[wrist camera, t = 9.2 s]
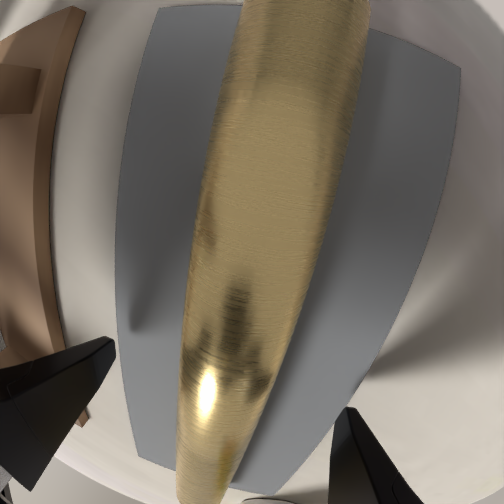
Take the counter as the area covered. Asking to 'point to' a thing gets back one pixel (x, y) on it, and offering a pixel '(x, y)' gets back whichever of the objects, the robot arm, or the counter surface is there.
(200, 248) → the brass rail
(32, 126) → the cradle rack
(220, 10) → the slate mat
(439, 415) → the counter surface
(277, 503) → the supplement bottle
